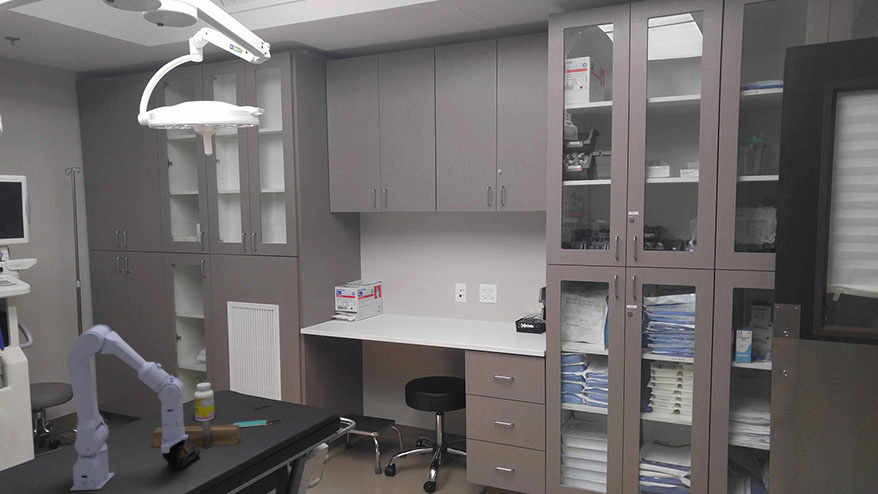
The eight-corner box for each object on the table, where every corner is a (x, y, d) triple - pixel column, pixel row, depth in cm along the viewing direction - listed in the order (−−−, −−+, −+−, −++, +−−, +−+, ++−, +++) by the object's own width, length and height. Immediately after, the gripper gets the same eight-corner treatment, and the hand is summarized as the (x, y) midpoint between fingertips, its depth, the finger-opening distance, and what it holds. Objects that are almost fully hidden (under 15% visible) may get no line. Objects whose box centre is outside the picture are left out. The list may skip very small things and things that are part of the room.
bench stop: (235, 447, 196) (234, 422, 196) (151, 450, 194) (149, 426, 193) (239, 439, 203) (238, 415, 202) (158, 442, 200) (157, 418, 200)
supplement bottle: (194, 417, 224) (193, 382, 223) (213, 414, 226) (212, 380, 225) (195, 423, 218) (194, 388, 217) (215, 420, 220) (214, 385, 219)
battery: (166, 477, 179) (184, 464, 178) (152, 453, 180) (169, 440, 179) (191, 464, 190) (208, 452, 189) (178, 441, 192) (194, 429, 190)
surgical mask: (271, 404, 226) (284, 411, 219) (271, 415, 226) (284, 422, 219) (216, 417, 212) (227, 425, 205) (216, 429, 213) (228, 437, 205)
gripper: (178, 430, 170) (180, 477, 171) (194, 412, 184) (196, 456, 185) (152, 431, 169) (154, 478, 170) (170, 413, 183) (172, 457, 184)
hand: (174, 467), depth 177 cm, fingers closed
